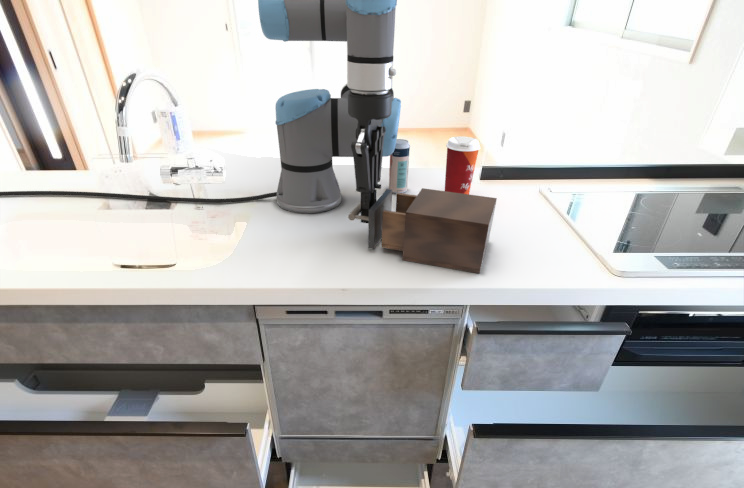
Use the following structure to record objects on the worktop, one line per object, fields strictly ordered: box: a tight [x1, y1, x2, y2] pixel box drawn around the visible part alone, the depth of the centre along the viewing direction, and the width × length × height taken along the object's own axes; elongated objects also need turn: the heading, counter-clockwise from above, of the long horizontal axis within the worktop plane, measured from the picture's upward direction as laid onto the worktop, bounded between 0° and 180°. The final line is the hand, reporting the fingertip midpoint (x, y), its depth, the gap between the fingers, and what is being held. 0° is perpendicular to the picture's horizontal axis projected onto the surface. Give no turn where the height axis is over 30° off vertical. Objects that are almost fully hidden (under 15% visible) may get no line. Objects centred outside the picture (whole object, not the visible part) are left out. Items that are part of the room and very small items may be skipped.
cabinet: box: [402, 187, 498, 274], centre depth 85 cm, size 15×13×10 cm
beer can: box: [387, 138, 411, 195], centre depth 109 cm, size 5×5×12 cm
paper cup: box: [444, 135, 481, 195], centre depth 104 cm, size 8×8×14 cm
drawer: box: [347, 188, 418, 252], centre depth 87 cm, size 18×11×8 cm, turn 71°
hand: (368, 221), depth 89 cm, fingers closed
